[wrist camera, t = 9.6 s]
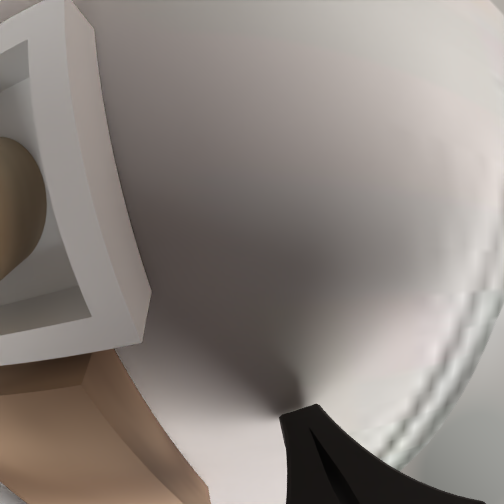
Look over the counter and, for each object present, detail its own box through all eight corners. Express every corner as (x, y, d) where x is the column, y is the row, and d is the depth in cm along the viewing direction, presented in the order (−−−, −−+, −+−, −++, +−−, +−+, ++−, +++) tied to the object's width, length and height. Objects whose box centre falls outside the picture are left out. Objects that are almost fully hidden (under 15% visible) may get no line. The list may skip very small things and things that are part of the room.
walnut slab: (207, 480, 12) (215, 530, 9) (75, 490, 11) (70, 532, 8) (105, 319, 8) (81, 384, 6) (-43, 355, 8) (-75, 398, 5)
